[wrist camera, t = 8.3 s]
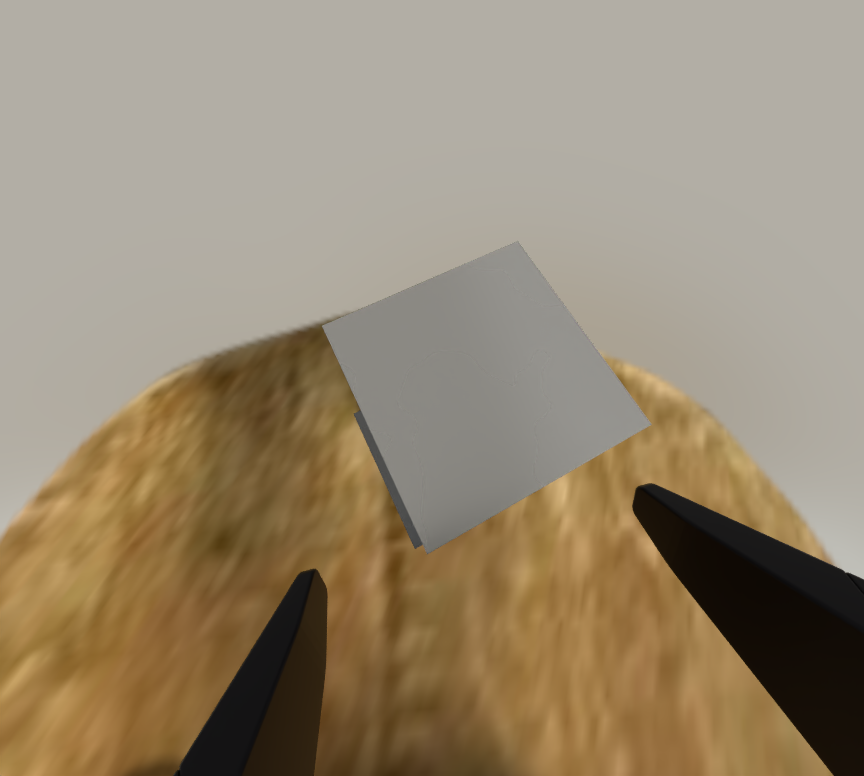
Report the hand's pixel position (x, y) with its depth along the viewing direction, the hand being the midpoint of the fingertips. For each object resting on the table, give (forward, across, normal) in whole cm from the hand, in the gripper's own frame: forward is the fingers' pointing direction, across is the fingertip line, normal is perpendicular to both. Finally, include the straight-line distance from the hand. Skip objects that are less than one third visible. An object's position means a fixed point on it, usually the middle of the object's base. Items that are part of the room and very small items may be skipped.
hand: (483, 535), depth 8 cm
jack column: (+7, 0, +2) cm, 7 cm away
